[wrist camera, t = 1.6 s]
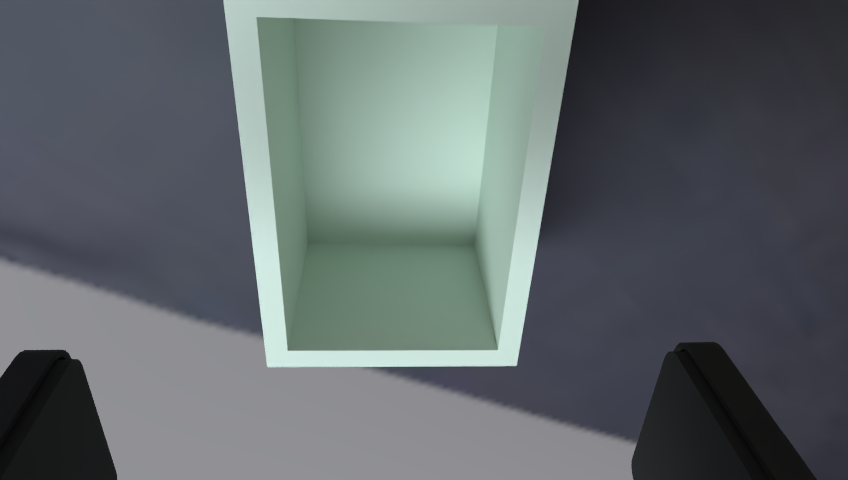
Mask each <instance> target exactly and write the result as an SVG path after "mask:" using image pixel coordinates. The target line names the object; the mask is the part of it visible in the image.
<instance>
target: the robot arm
mask: <svg viewBox="0 0 848 480" xmlns="http://www.w3.org/2000/svg"><path fill="white" fill-rule="evenodd" d="M632 474H633V479H634V480H817V479H816V478H815V476H814V475H813V474H812V472H811V471H810V469H809V468H808V467H807V465H806V464H805V462H804V461H803V460H802V458H801V457H800V455H799V454H798V453H797V451H796V450H795V448H794V447H793V446H792V444H791V443H790V441H789V440H788V439H787V437H786V436H785V435H784V434H783V432H782V431H781V429H780V428H779V427H778V425H777V424H776V422H775V421H774V420H773V418H772V417H771V415H770V414H769V413H768V411H767V410H766V408H765V407H764V406H763V404H762V403H761V401H760V400H759V399H758V397H757V396H756V394H755V393H754V392H753V390H752V389H751V387H750V386H749V385H748V383H747V382H746V380H745V379H744V378H743V376H742V375H741V373H740V372H739V371H738V369H737V368H736V366H735V365H734V364H733V362H732V361H731V359H730V358H729V357H728V355H727V354H726V352H725V351H724V350H723V348H722V347H721V346H720V345H719V344H717V343H715V342H692V343H679V344H678V345H677V346H676V348H675V350H674V352H668V353H667V354H666V356H665V358H664V361H663V365H662V368H661V371H660V374H659V377H658V380H657V383H656V386H655V389H654V393H653V396H652V399H651V402H650V405H649V408H648V411H647V414H646V417H645V421H644V424H643V427H642V430H641V433H640V436H639V439H638V442H637V445H636V448H635V452H634V455H633V458H632ZM0 480H117V474H116V470H115V467H114V464H113V460H112V457H111V454H110V451H109V448H108V445H107V441H106V438H105V435H104V432H103V429H102V426H101V423H100V419H99V416H98V413H97V410H96V407H95V404H94V400H93V398H92V394H91V391H90V388H89V385H88V382H87V379H86V375H85V372H84V369H83V366H82V364H81V362H80V361H79V360H77V359H71V357H70V355H69V353H68V352H66V351H65V350H24V351H23V352H20V353H19V354H18V355H17V356H16V357H15V358H14V360H13V361H12V363H11V364H10V365H9V367H8V368H7V369H6V371H5V372H4V374H3V375H2V376H1V378H0Z"/></svg>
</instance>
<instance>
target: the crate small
mask: <svg viewBox="0 0 848 480" xmlns="http://www.w3.org/2000/svg"><path fill="white" fill-rule="evenodd" d="M578 2H579V0H224V8H225V17H226V25H227V33H228V42H229V50H230V59H231V67H232V75H233V84H234V92H235V101H236V109H237V117H238V126H239V134H240V142H241V151H242V159H243V168H244V176H245V184H246V193H247V201H248V210H249V218H250V226H251V235H252V243H253V251H254V260H255V268H256V277H257V285H258V293H259V302H260V310H261V319H262V327H263V335H264V344H265V351H266V361H267V367H392V366H517V360H518V354H519V349H520V343H521V337H522V331H523V325H524V319H525V313H526V307H527V302H528V296H529V290H530V284H531V278H532V272H533V266H534V260H535V254H536V249H537V243H538V237H539V231H540V225H541V219H542V213H543V207H544V202H545V196H546V190H547V184H548V178H549V172H550V166H551V160H552V154H553V149H554V143H555V137H556V131H557V125H558V119H559V113H560V107H561V102H562V96H563V90H564V84H565V78H566V72H567V66H568V60H569V54H570V49H571V43H572V37H573V31H574V25H575V19H576V13H577V7H578Z"/></svg>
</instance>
